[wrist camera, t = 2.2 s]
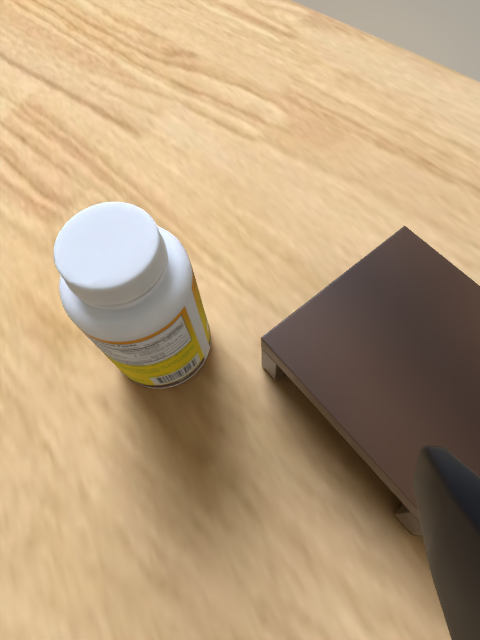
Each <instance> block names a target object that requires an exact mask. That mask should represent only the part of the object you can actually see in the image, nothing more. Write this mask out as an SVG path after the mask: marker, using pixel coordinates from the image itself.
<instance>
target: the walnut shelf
mask: <svg viewBox="0 0 480 640" xmlns="http://www.w3.org/2000/svg"><path fill="white" fill-rule="evenodd" d="M261 347H262V366H263V368H264V369H265V370H266V371H267V372H268V373H269V374H270V375H271V377H272V378H273V379H274V380H276V379H278V378H279V377H280V376H281V375H283V374H284V373H285V374H286V375H287V376H288V377H289V378H290V379H291V381H292V382H293V383H294V384H295V385H296V386H297V387H298V388H299V389H300V390H301V392H302V393H303V394H304V395H305V396H306V397H307V398H308V399H309V400H310V401H311V403H312V404H313V405H314V406H315V407H316V408H317V409H318V410H319V411H320V413H321V414H322V415H323V416H324V417H325V418H326V419H327V420H328V421H329V422H330V424H331V425H332V426H333V427H334V428H335V429H336V430H337V431H338V432H339V433H340V435H341V436H342V437H343V438H344V439H345V440H346V441H347V442H348V443H349V445H350V446H351V447H352V448H353V449H354V450H355V451H356V452H357V453H358V454H359V456H360V457H361V458H362V459H363V460H364V461H365V462H366V463H367V464H368V465H369V467H370V468H371V469H372V470H373V471H374V472H375V473H376V474H377V475H378V477H379V478H380V479H381V480H382V481H383V482H384V483H385V484H386V485H387V486H388V488H389V489H390V490H391V491H392V492H393V493H394V494H395V495H396V496H397V497H398V499H399V500H400V501H401V502H402V503H403V505H402V506H401V507H400V508H399V509H398V510H397V511H396V512H395V513H394V515H395V516H396V517H397V519H398V520H399V521H400V522H401V523H402V524H403V525H404V526H405V528H406V529H407V530H408V531H409V532H410V533H411V534H412V535H420V536H423V533H422V528H421V523H420V518H419V513H418V508H417V503H416V498H415V493H414V487H413V477H414V473H415V469H416V465H417V461H418V457H419V453H420V450H421V448H422V447H424V446H440V447H445V448H446V449H448V450H449V451H450V452H452V453H453V454H454V455H455V456H456V457H457V458H459V459H460V460H461V461H462V462H463V463H464V464H466V465H467V466H468V467H469V468H470V469H471V470H473V471H474V472H475V473H476V474H477V475H479V476H480V286H479V285H478V284H477V283H475V282H474V281H473V280H472V279H470V278H469V277H468V276H467V275H465V274H464V273H463V272H462V271H460V270H459V269H458V268H457V267H455V266H454V265H453V264H452V263H450V262H449V261H448V260H447V259H445V258H444V257H443V256H442V255H440V254H439V253H438V252H437V251H435V250H434V249H433V248H432V247H430V246H429V245H428V244H427V243H426V242H424V241H423V240H422V239H421V238H419V237H418V236H417V235H416V234H414V233H413V232H412V231H411V230H409V229H408V228H407V227H406V226H404V227H403V228H401V229H400V230H399V231H397V232H396V233H395V234H394V235H392V236H391V237H390V238H388V239H387V240H386V241H385V242H383V243H382V244H381V245H379V246H378V247H377V248H376V249H374V250H373V251H372V252H370V253H369V254H368V255H367V256H365V257H364V258H363V259H361V260H360V261H359V262H358V263H356V264H355V265H354V266H353V267H351V268H350V269H349V270H347V271H346V272H345V273H344V274H342V275H341V276H340V277H338V278H337V279H336V280H335V281H333V282H332V283H331V284H329V285H328V286H327V287H326V288H324V289H323V290H322V291H320V292H319V293H318V294H317V295H315V296H314V297H313V298H311V299H310V300H309V301H308V302H306V303H305V304H304V305H302V306H301V307H300V308H299V309H297V310H296V311H295V312H294V313H292V314H291V315H290V316H288V317H287V318H286V319H285V320H283V321H282V322H281V323H279V324H278V325H277V326H276V327H274V328H273V329H272V330H270V331H269V332H268V333H267V334H265V335H264V336H263V337H261Z"/></svg>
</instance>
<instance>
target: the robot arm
mask: <svg viewBox="0 0 480 640" xmlns="http://www.w3.org/2000/svg"><path fill="white" fill-rule="evenodd" d="M413 487H414V493H415V498H416V503H417V508H418V513H419V518H420V523H421V528H422V533H423V538H424V543H425V548H426V554H427V558H428V563H429V567H430V571H431V574H432V578H433V581H434V585H435V588H436V591H437V594H438V597H439V601H440V604H441V607H442V610H443V613H444V616H445V620H446V623H447V626H448V629H449V632H450V636H451V639H452V640H480V476H479V475H477V474H476V473H475V472H474V471H473V470H471V469H470V468H469V467H468V466H467V465H466V464H464V463H463V462H462V461H461V460H460V459H459V458H457V457H456V456H455V455H454V454H453V453H452V452H450V451H449V450H448V449H446V448H445V447H440V446H424V447H422V448H421V450H420V453H419V457H418V461H417V465H416V469H415V473H414V477H413Z"/></svg>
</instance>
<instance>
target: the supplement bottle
mask: <svg viewBox="0 0 480 640" xmlns="http://www.w3.org/2000/svg"><path fill="white" fill-rule="evenodd" d="M54 261H55V265H56V268H57V270H58V272H59V273H60V275H61V276H60V285H59V289H60V297H61V301H62V304H63V307H64V309H65V311H66V313H67V314H68V316H69V317H70V319H71V320H72V321H73V322H74V323H75V324H76V326H77V327H78V328H79V329H80V330H81V331H82V332H83V333H84V334H85V335H86V336H87V337H88V338H89V339H90V340H91V341H92V342H93V343H94V344H95V345H96V346H97V347H98V348H99V349H100V350H101V351H102V352H103V353H104V354H105V355H106V356H107V357H108V358H109V359H110V360H111V361H112V362H113V363H114V364H115V365H116V367H118V369H119V370H120V371H121V372H122V373H123V374H124V375H125V376H126V377H128V378H129V379H130V380H132V381H133V382H135V383H137V384H139V385H141V386H144V387H148V388H157V389H161V388H169V387H173V386H176V385H179V384H181V383H183V382H185V381H187V380H188V379H190V378H191V377H192V376H193V375H195V374H196V373H197V372H198V371H199V369H200V368H201V367H202V365H203V364H204V362H205V360H206V358H207V356H208V353H209V350H210V344H211V334H210V328H209V324H208V321H207V318H206V314H205V311H204V308H203V304H202V300H201V297H200V293H199V290H198V286H197V283H196V279H195V276H194V272H193V269H192V265H191V262H190V260H189V257H188V255H187V252H186V250H185V249H184V247H183V246H182V244H181V243H180V242H179V241H178V239H177V238H176V237H175V236H173V235H172V234H171V233H169V232H168V231H166V230H165V229H163V228H161V227H159V226H157V225H156V223H155V221H154V220H153V218H152V217H151V216H150V215H149V214H148V213H147V212H145V211H144V210H143V209H141V208H139V207H137V206H135V205H132V204H128V203H123V202H106V203H100V204H97V205H93V206H91V207H89V208H86V209H84V210H82V211H81V212H79V213H78V214H76V215H75V216H73V217H72V218H71V219H70V220H69V221H68V222H67V223H66V224H65V225H64V227H63V228H62V229H61V231H60V232H59V234H58V236H57V239H56V242H55V245H54Z"/></svg>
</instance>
